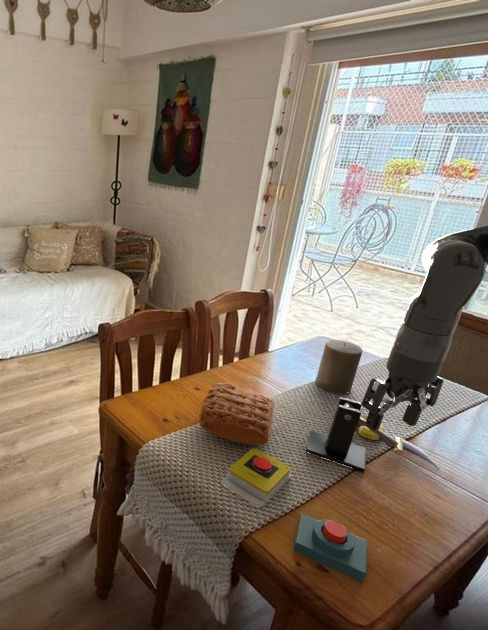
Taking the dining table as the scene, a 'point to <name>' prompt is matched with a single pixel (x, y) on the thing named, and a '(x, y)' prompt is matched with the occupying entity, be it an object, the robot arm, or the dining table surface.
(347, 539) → the button block
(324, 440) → the black lever stand
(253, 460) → the emergency button
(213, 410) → the inscribed clay slab
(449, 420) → the dining table surface
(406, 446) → the knife
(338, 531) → the button
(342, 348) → the pillar candle
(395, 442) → the lever
